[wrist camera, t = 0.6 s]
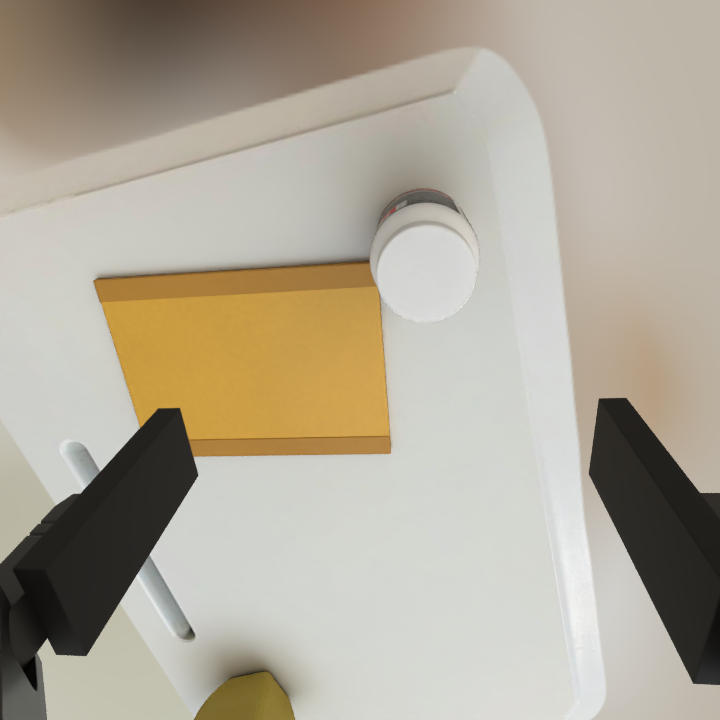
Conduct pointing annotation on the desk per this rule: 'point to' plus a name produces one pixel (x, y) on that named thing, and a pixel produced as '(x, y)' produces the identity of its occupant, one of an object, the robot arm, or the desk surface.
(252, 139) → the desk surface
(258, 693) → the flower pot
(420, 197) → the pill bottle
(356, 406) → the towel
